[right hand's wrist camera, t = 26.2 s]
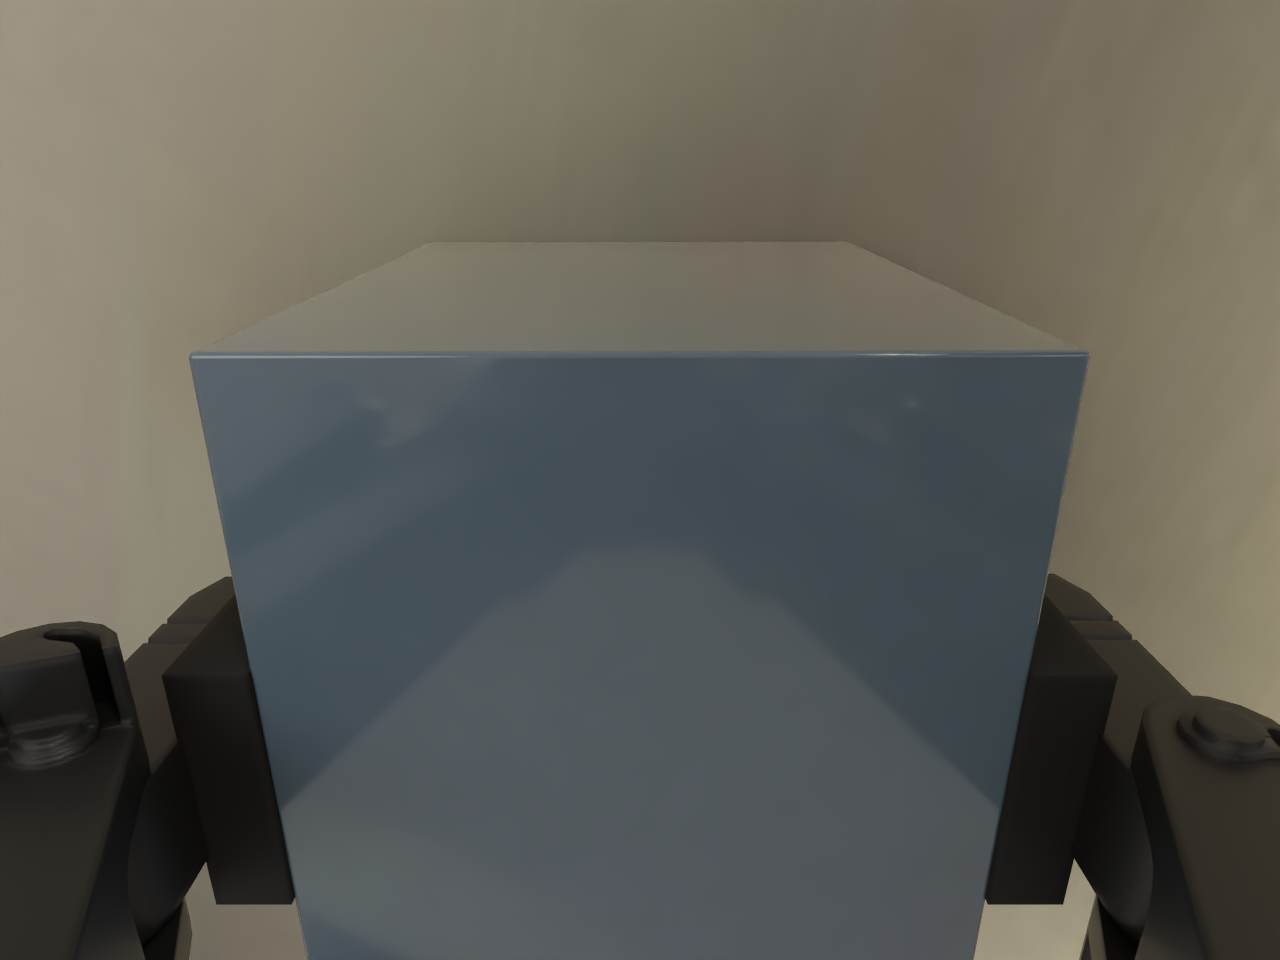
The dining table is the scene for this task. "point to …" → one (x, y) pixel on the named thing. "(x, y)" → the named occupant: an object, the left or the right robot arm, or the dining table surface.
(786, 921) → the blue-grey cube
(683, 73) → the dining table surface
